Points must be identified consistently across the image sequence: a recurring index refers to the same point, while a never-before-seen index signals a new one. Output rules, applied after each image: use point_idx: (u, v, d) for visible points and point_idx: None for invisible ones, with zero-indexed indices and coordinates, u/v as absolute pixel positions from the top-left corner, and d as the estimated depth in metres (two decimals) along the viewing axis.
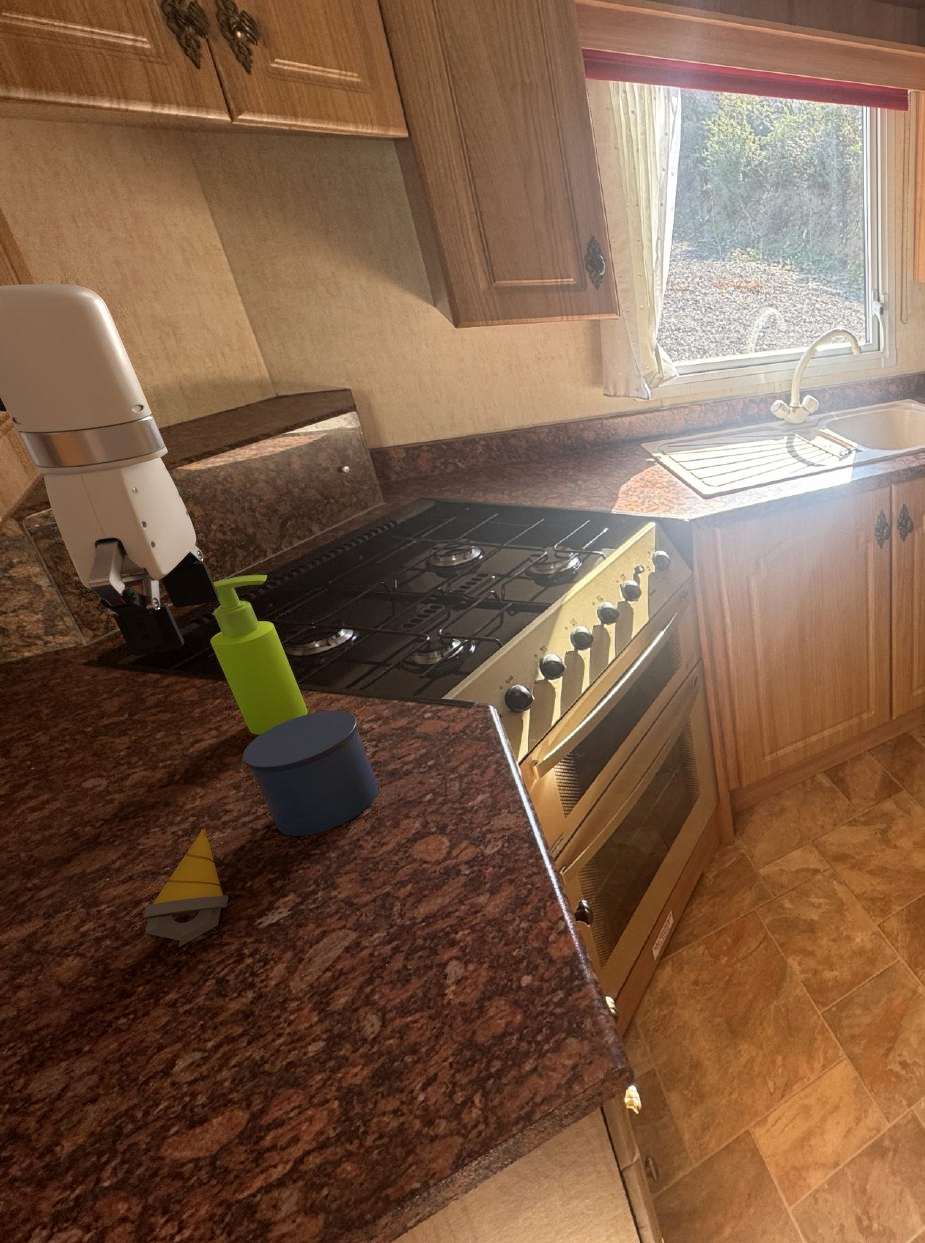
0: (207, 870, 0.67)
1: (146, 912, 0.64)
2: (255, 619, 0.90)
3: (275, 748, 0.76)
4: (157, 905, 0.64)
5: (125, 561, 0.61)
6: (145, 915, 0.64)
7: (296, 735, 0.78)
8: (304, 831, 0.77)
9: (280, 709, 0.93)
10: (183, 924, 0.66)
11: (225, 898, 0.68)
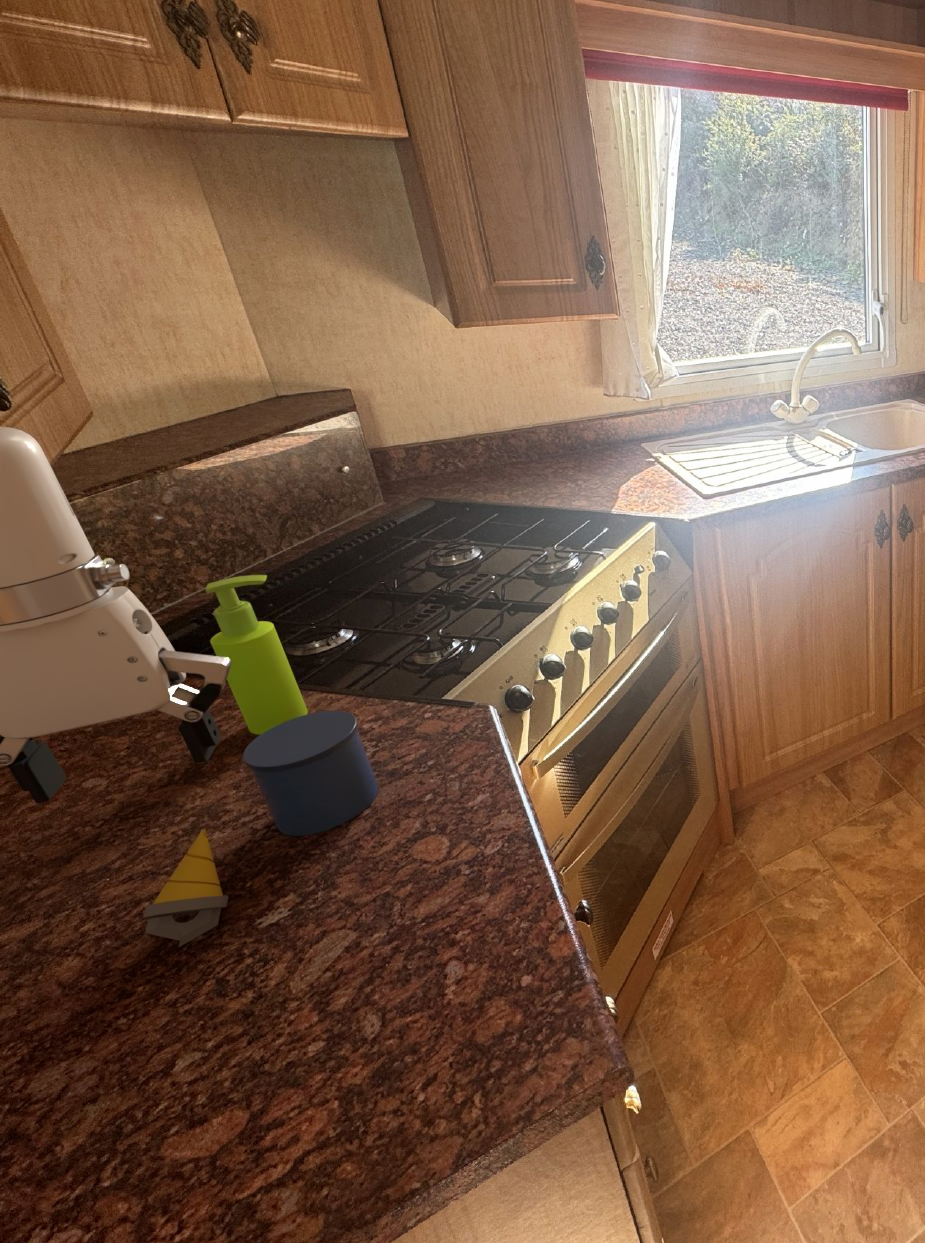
0: (207, 870, 0.67)
1: (146, 912, 0.64)
2: (255, 619, 0.90)
3: (275, 748, 0.76)
4: (157, 905, 0.64)
5: None
6: (145, 915, 0.64)
7: (296, 735, 0.78)
8: (304, 831, 0.77)
9: (280, 709, 0.93)
10: (183, 924, 0.66)
11: (225, 898, 0.68)
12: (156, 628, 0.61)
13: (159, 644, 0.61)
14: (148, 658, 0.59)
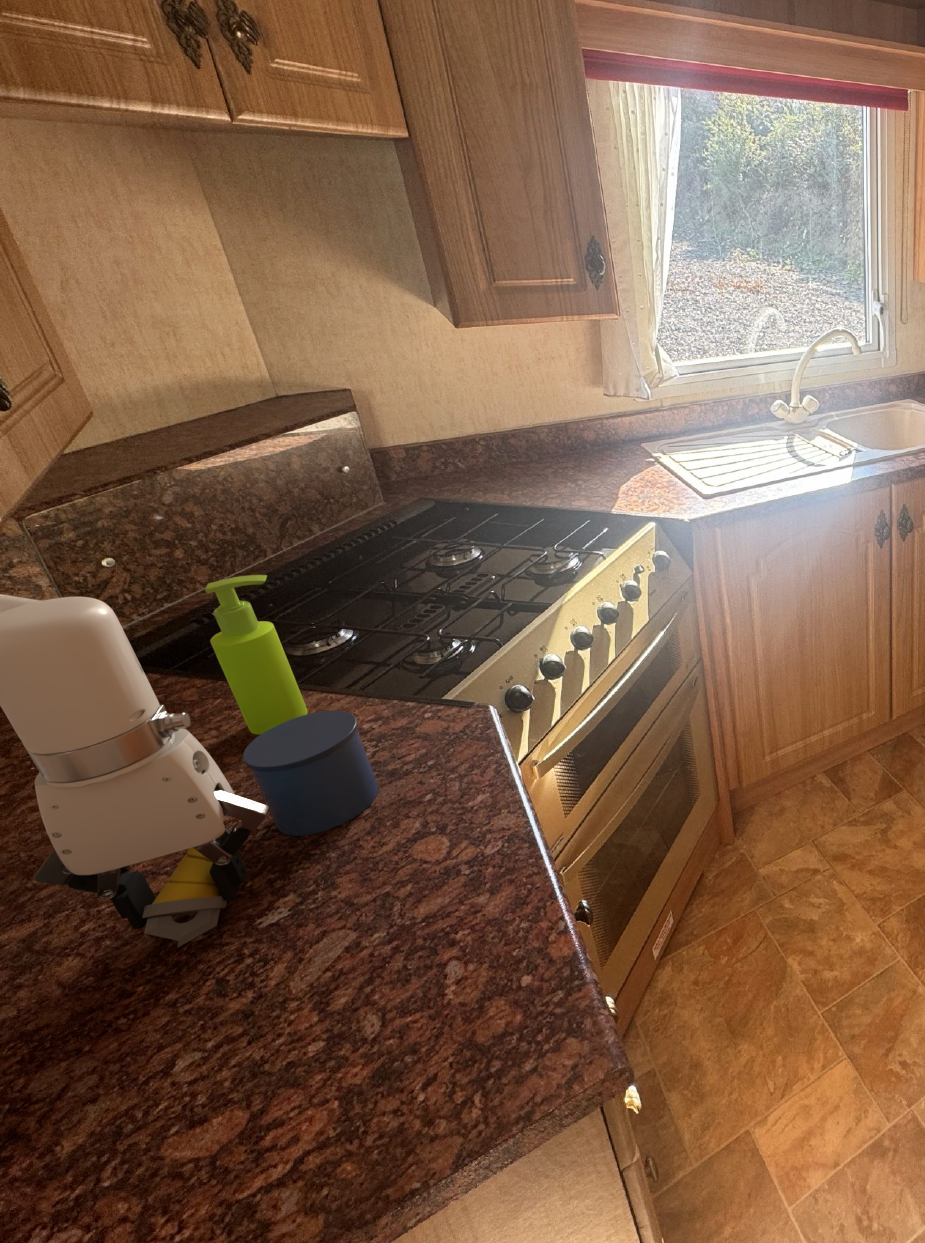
0: (206, 870, 0.67)
1: (145, 912, 0.64)
2: (255, 619, 0.90)
3: (275, 748, 0.76)
4: (156, 905, 0.64)
5: None
6: (144, 915, 0.64)
7: (296, 735, 0.78)
8: (304, 831, 0.77)
9: (280, 709, 0.93)
10: (182, 924, 0.66)
11: None
12: (212, 765, 0.66)
13: (215, 780, 0.65)
14: (206, 797, 0.64)
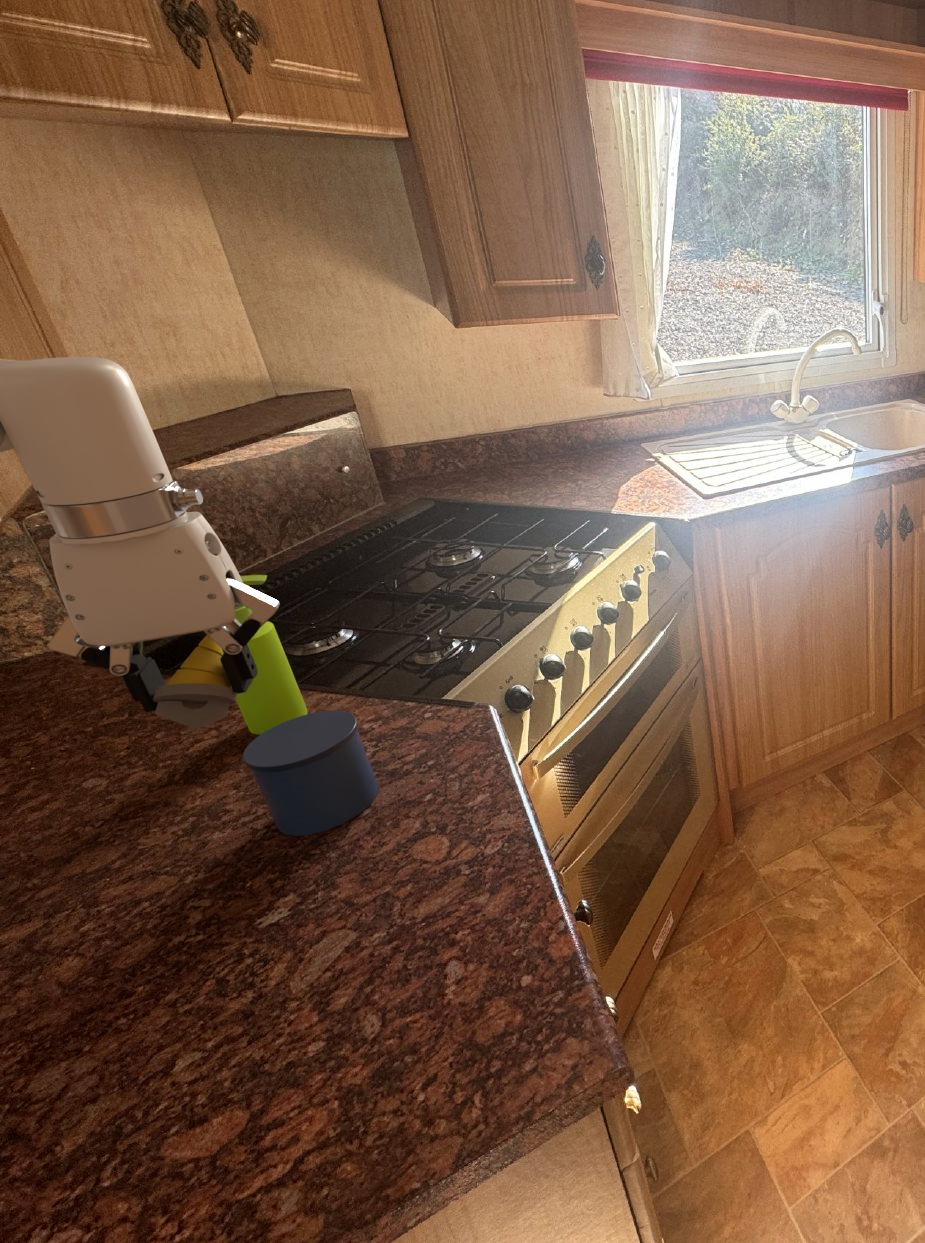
0: (217, 662, 0.68)
1: (156, 693, 0.65)
2: None
3: (275, 748, 0.76)
4: (167, 686, 0.65)
5: None
6: (155, 696, 0.65)
7: (296, 735, 0.78)
8: (304, 831, 0.77)
9: (280, 709, 0.93)
10: (192, 711, 0.66)
11: None
12: (224, 552, 0.66)
13: (226, 566, 0.66)
14: (217, 577, 0.64)
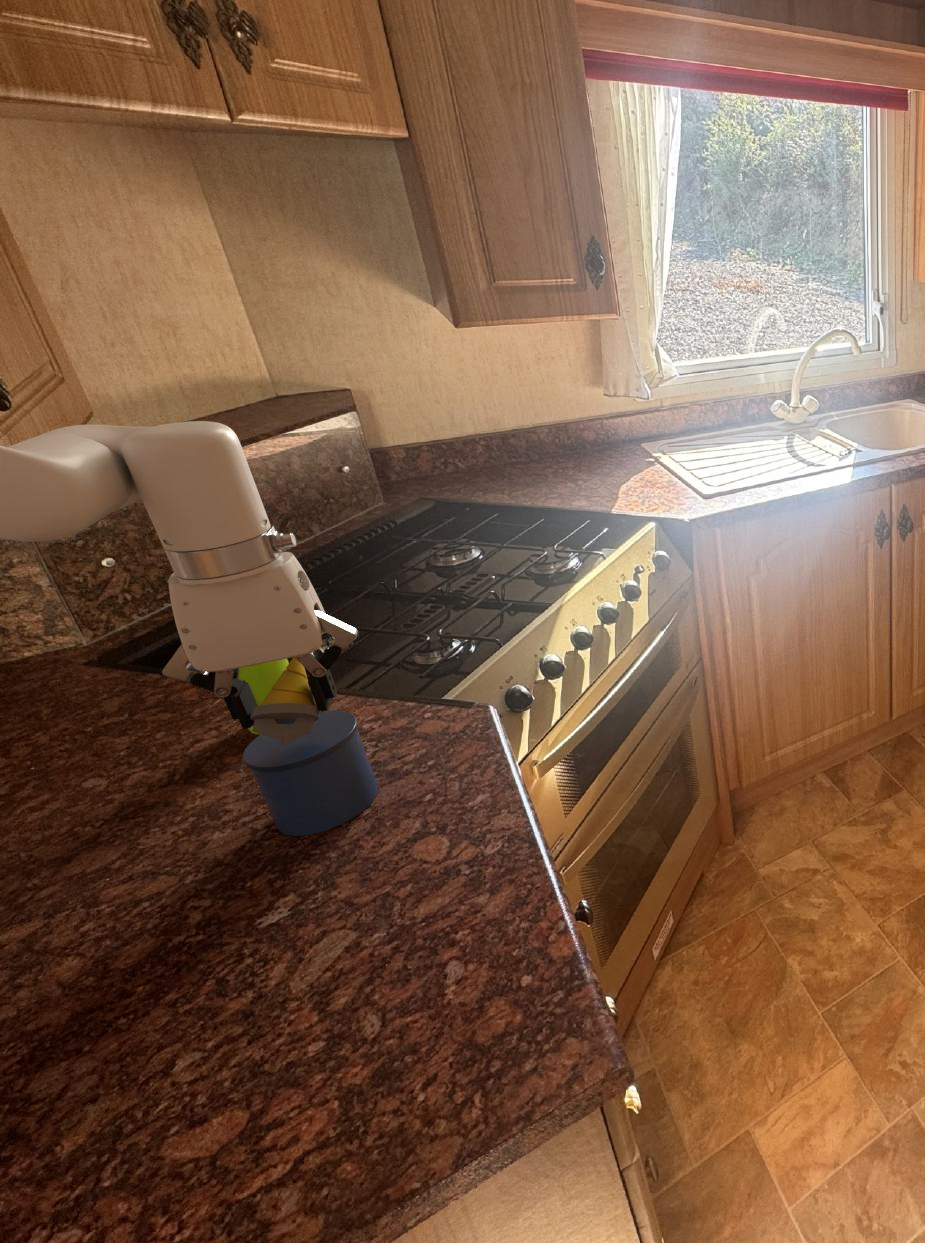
0: (303, 684, 0.76)
1: (253, 712, 0.73)
2: None
3: (275, 748, 0.76)
4: (263, 706, 0.73)
5: None
6: (252, 715, 0.73)
7: None
8: (304, 831, 0.77)
9: None
10: (283, 727, 0.75)
11: None
12: (311, 586, 0.75)
13: (314, 599, 0.74)
14: (308, 610, 0.73)
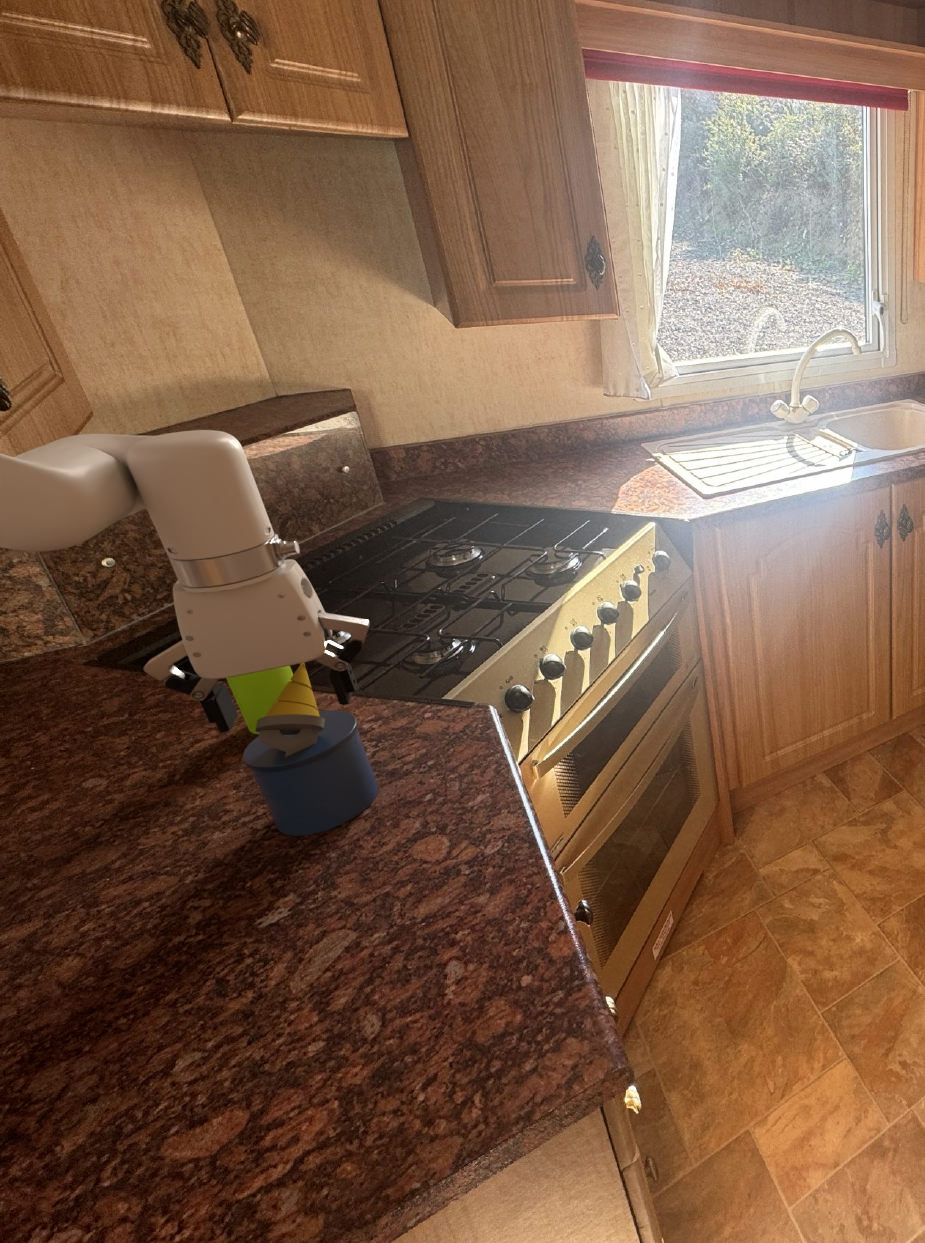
0: (307, 695, 0.77)
1: (258, 724, 0.74)
2: None
3: (275, 748, 0.76)
4: (268, 717, 0.74)
5: None
6: (258, 726, 0.74)
7: None
8: (304, 831, 0.77)
9: None
10: (288, 738, 0.75)
11: (323, 720, 0.77)
12: (315, 594, 0.75)
13: (317, 607, 0.75)
14: (312, 617, 0.73)
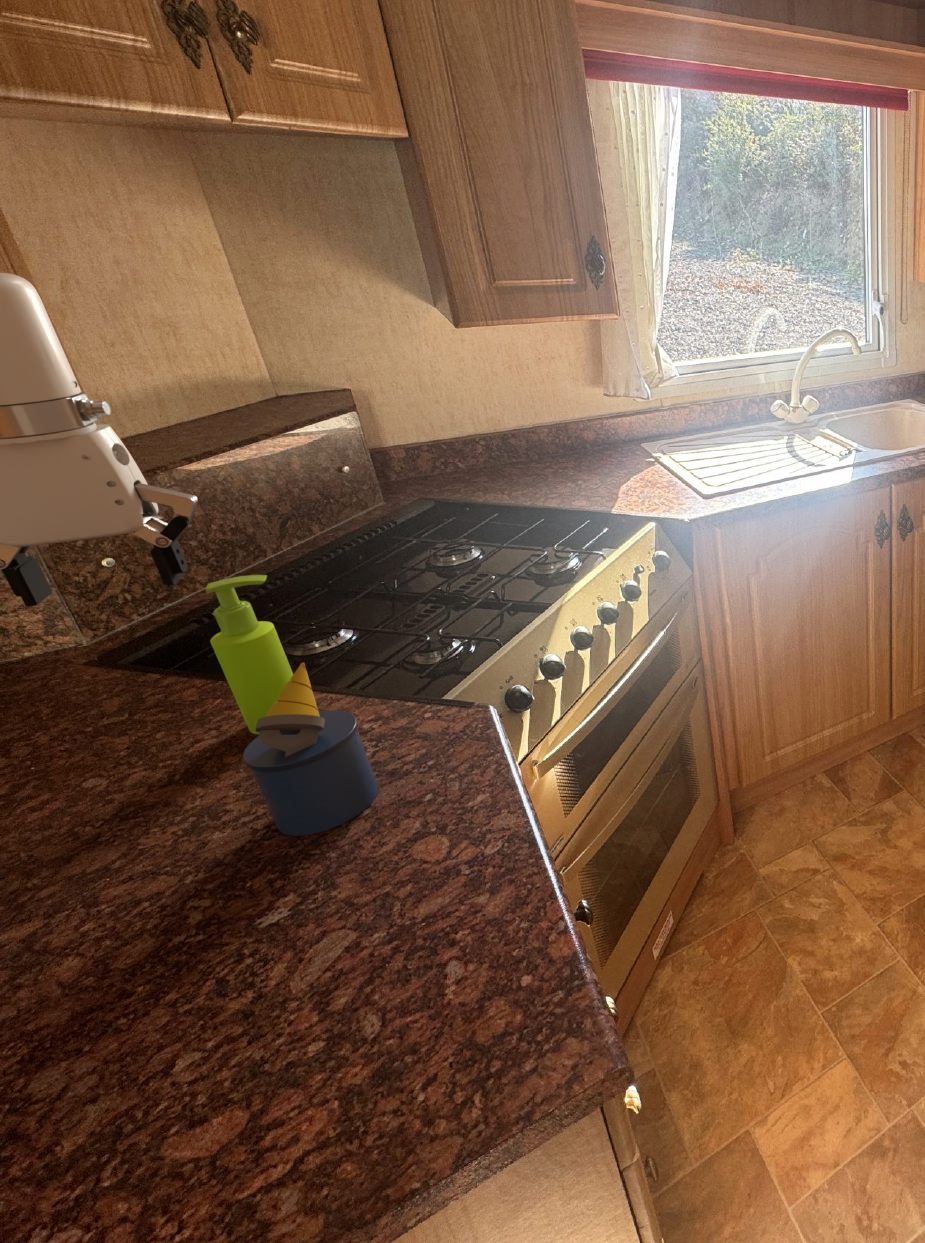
0: (307, 695, 0.77)
1: (258, 724, 0.74)
2: (255, 619, 0.90)
3: (275, 748, 0.76)
4: (268, 717, 0.74)
5: None
6: (258, 726, 0.74)
7: None
8: (304, 831, 0.77)
9: None
10: (288, 738, 0.75)
11: (323, 720, 0.77)
12: (133, 463, 0.71)
13: (135, 476, 0.71)
14: (125, 485, 0.69)
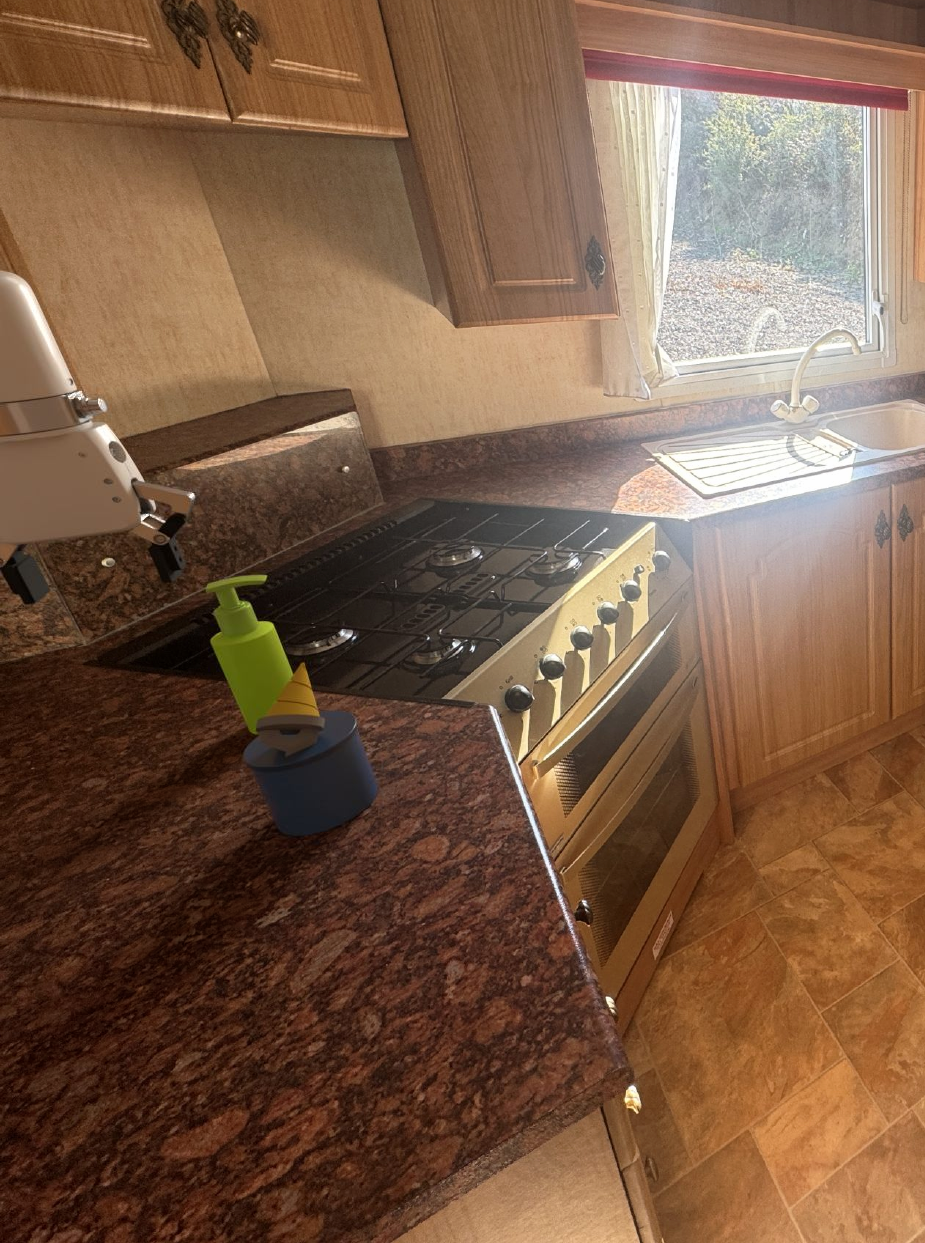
0: (307, 695, 0.77)
1: (258, 724, 0.74)
2: (255, 619, 0.90)
3: (275, 748, 0.76)
4: (268, 717, 0.74)
5: None
6: (258, 726, 0.74)
7: None
8: (304, 831, 0.77)
9: None
10: (288, 738, 0.75)
11: (323, 720, 0.77)
12: (130, 460, 0.71)
13: (132, 474, 0.70)
14: (122, 482, 0.69)
